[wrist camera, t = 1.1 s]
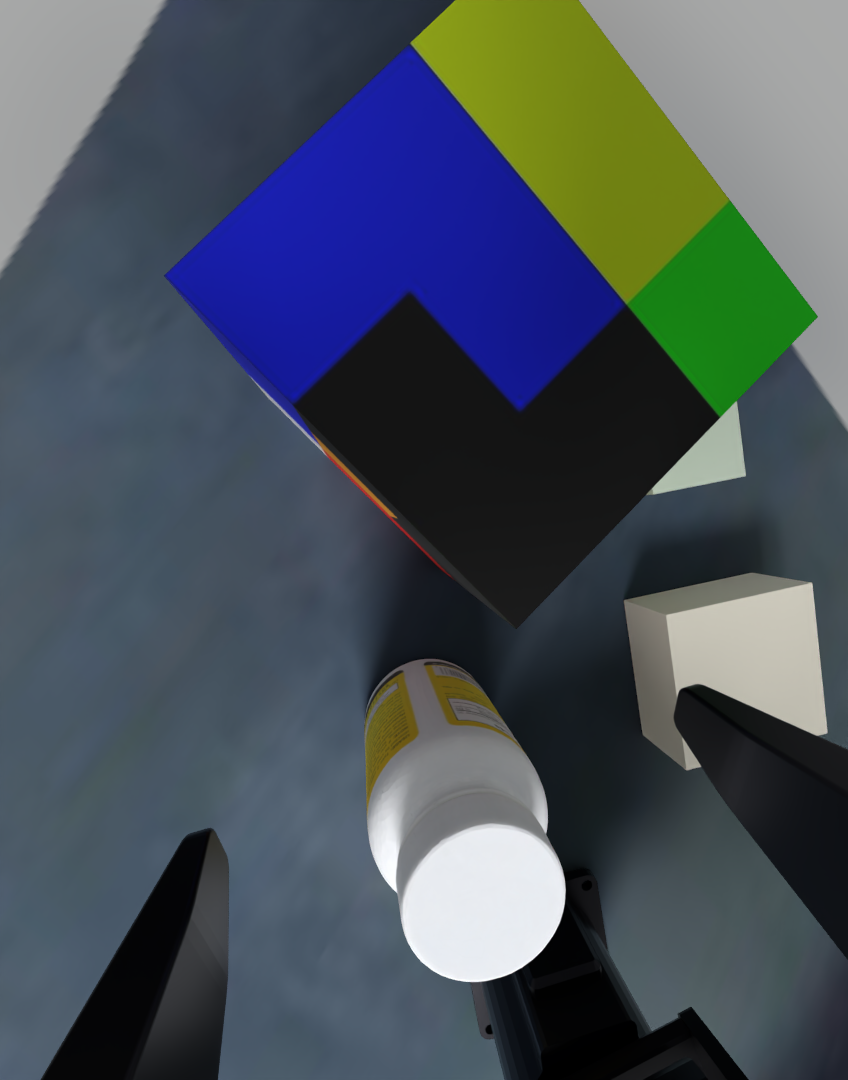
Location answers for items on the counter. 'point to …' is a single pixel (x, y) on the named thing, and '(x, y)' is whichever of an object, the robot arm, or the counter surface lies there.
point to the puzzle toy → (497, 294)
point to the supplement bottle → (459, 824)
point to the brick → (709, 457)
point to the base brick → (727, 652)
